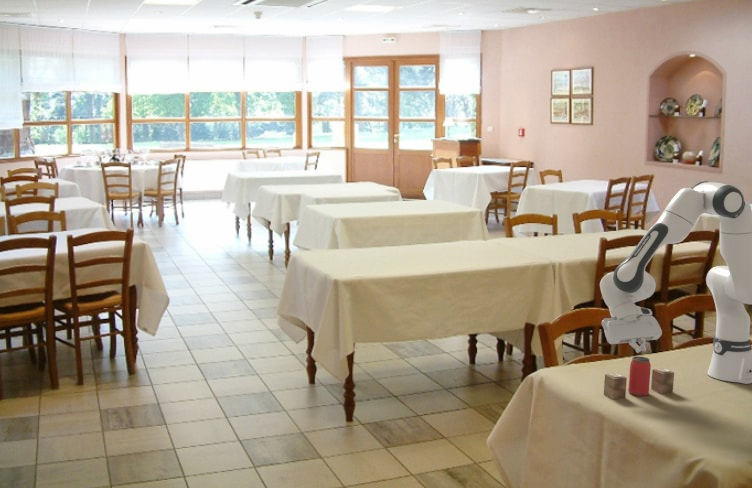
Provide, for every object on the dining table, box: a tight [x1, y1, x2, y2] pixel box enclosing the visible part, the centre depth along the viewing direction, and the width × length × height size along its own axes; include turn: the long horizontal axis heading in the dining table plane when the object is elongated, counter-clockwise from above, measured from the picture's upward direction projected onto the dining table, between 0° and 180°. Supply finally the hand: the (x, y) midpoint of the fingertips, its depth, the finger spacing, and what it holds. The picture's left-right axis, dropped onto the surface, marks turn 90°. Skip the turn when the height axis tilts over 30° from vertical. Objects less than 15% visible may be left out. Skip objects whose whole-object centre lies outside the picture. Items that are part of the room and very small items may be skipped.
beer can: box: [627, 356, 652, 397], centre depth 297 cm, size 7×7×12 cm
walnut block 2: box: [650, 367, 675, 395], centre depth 301 cm, size 5×5×7 cm
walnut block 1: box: [603, 372, 628, 400], centre depth 294 cm, size 5×5×7 cm
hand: (641, 351), depth 296 cm, fingers closed
